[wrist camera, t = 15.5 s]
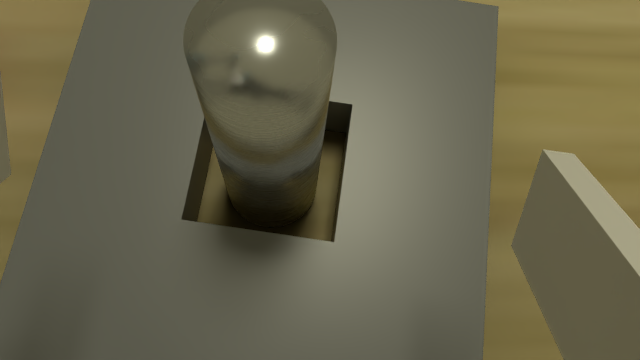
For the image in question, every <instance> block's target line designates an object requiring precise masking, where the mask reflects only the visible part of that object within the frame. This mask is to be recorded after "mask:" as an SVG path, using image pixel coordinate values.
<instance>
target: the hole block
mask: <svg viewBox="0 0 640 360" xmlns="http://www.w3.org/2000/svg"><path fill="white" fill-rule="evenodd" d="M198 1H199V0H91V1H90V4H89V7H88V11H87V14H86V17H85V20H84V23H83V26H82V29H81V33H80V36H79V39H78V42H77V45H76V48H75V51H74V54H73V58H72V61H71V64H70V67H69V70H68V73H67V76H66V80H65V83H64V86H63V89H62V92H61V95H60V98H59V101H58V105H57V108H56V111H55V114H54V117H53V120H52V123H51V127H50V130H49V133H48V136H47V139H46V142H45V145H44V149H43V152H42V155H41V158H40V161H39V164H38V167H37V170H36V174H35V177H34V180H33V183H32V186H31V189H30V192H29V196H28V199H27V202H26V205H25V208H24V211H23V214H22V217H21V221H20V224H19V227H18V230H17V233H16V236H15V239H14V243H13V246H12V249H11V252H10V255H9V258H8V261H7V264H6V268H5V271H4V274H3V277H2V280H1V283H0V360H483V340H484V318H485V295H486V273H487V250H488V228H489V206H490V183H491V161H492V138H493V116H494V94H495V71H496V49H497V26H498V6H492V5H485V4H479V3H472V2H465V1H459V0H322V2H323V3H324V4H325V5H326V7H327V8H328V10H329V12H330V14H331V15H332V18H333V20H334V23H335V27H336V31H337V51H336V57H335V64H334V71H333V78H332V85H331V91H330V98H329V105H328V112H327V119H326V125H325V130H330V131H336V132H343V133H346V136H345V144H344V151H343V159H342V166H341V173H340V181H339V188H338V196H337V203H336V210H335V218H334V225H333V233H332V240H331V242H330V241H323V240H316V239H309V238H303V237H296V236H289V235H282V234H276V233H269V232H262V231H255V230H249V229H242V228H235V227H228V226H222V225H215V224H208V223H201V222H197V217H198V212H199V208H200V203H201V198H202V194H203V189H204V184H205V180H206V175H207V171H208V166H209V161H210V157H211V152H212V147H213V143H212V140H211V137H210V134H209V130H208V127H207V124H206V121H205V118H204V115H203V111H202V108H201V105H200V102H199V99H198V95H197V92H196V89H195V86H194V83H193V79H192V76H191V73H190V70H189V67H188V64H187V60H186V57H185V53H184V47H183V34H184V28H185V24H186V21H187V18H188V16H189V14H190V12H191V10H192V9H193V7H194V6H195V5H196V3H197V2H198Z"/></svg>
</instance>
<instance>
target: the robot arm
mask: <svg viewBox="0 0 640 360" xmlns="http://www.w3.org/2000/svg"><path fill="white" fill-rule="evenodd" d="M10 175H11V169H10V159H9V150H8V140H7V130H6V121H5V111H4V102H3V92H2V83H1V73H0V183H1V182H2V181H4V180H5V179H6V178H7V177H9V176H10ZM511 246H512V248H513V250H514V253H515V255H516V257H517V259H518V261H519V263H520V266H521V268H522V270H523V272H524V274H525V276H526V279H527V281H528V283H529V285H530V287H531V290H532V292H533V294H534V296H535V298H536V300H537V303H538V305H539V307H540V309H541V311H542V313H543V316H544V318H545V320H546V322H547V324H548V326H549V329H550V331H551V333H552V335H553V337H554V339H555V342H556V344H557V346H558V348H559V350H560V353H561V355H562V357H563V359H564V360H640V229H639V228H638V227H637V226H636V224H635V223H634V222H633V221H632V220H631V219H630V218H629V216H628V215H627V214H626V213H625V212H624V211H623V210H622V208H621V207H620V206H619V205H618V204H617V203H616V202H615V200H614V199H613V198H612V197H611V196H610V195H609V194H608V192H607V191H606V190H605V189H604V188H603V187H602V185H601V184H600V183H599V182H598V181H597V180H596V179H595V177H594V176H593V175H592V174H591V173H590V172H589V171H588V169H587V168H586V167H585V166H584V165H583V164H582V163H581V161H580V160H579V159H578V158H577V157H576V156H575V155H574V154H571V153H564V152H557V151H550V150H542V153H541V156H540V159H539V162H538V165H537V169H536V172H535V175H534V178H533V181H532V184H531V187H530V190H529V193H528V196H527V199H526V202H525V205H524V208H523V212H522V215H521V218H520V221H519V224H518V227H517V230H516V233H515V236H514V239H513V242H512V245H511Z"/></svg>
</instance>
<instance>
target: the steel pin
mask: <svg viewBox="0 0 640 360" xmlns="http://www.w3.org/2000/svg"><path fill="white" fill-rule="evenodd" d="M183 47H184V53H185V57H186V60H187V64H188V67H189V70H190V73H191V76H192V79H193V83H194V86H195V89H196V92H197V95H198V99H199V102H200V105H201V108H202V111H203V115H204V118H205V121H206V124H207V127H208V130H209V134H210V137H211V140H212V143H213V146H214V150H215V153H216V156H217V159H218V162H219V165H220V169H221V172H222V175H223V178H224V181H225V185H226V188H227V191H228V194H229V197H230V200H231V202H232V205H233V206H234V208H235V209H236V211H237V212H238V213H239V214H240V215H241V216H242V217H243V218H245V219H246V220H248V221H249V222H251V223H253V224H256V225H259V226H263V227H280V226H284V225H288V224H290V223H292V222H294V221H296V220H297V219H299V218H300V217H301V216H303V215H304V214H305V212H306V211H307V210H308V209H309V207H310V206H311V204H312V202H313V199H314V197H315V193H316V187H317V180H318V173H319V166H320V159H321V153H322V146H323V139H324V132H325V125H326V119H327V112H328V105H329V98H330V91H331V85H332V78H333V71H334V64H335V57H336V51H337V31H336V27H335V23H334V20H333V18H332V15H331V14H330V12H329V10H328V8H327V7H326V5H325V4H324V3H323V2H322V0H199V1H198V2H197V3H196V5H195V6H194V7H193V9H192V10H191V12H190V14H189V16H188V18H187V21H186V24H185V28H184V34H183Z"/></svg>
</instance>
